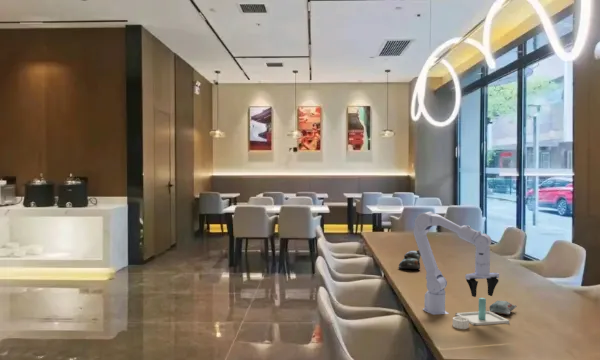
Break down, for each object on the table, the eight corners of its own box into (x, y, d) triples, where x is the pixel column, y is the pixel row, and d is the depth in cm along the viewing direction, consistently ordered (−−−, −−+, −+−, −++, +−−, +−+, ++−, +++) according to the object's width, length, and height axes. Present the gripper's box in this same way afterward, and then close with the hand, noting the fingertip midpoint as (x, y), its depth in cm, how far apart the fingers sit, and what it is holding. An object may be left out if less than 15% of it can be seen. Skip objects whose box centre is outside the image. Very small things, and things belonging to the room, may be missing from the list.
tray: (455, 316, 211) (455, 313, 211) (488, 314, 215) (488, 310, 215) (474, 326, 198) (474, 323, 197) (509, 324, 201) (509, 320, 201)
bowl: (449, 326, 198) (449, 317, 198) (463, 325, 200) (463, 316, 200) (457, 330, 193) (458, 321, 192) (471, 329, 194) (471, 320, 194)
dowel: (477, 318, 207) (477, 297, 207) (483, 317, 208) (483, 297, 207) (480, 320, 204) (481, 299, 204) (486, 319, 205) (487, 299, 205)
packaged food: (516, 311, 219) (516, 300, 219) (509, 318, 210) (509, 306, 210) (496, 308, 225) (496, 297, 224) (488, 314, 215) (488, 303, 215)
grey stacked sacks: (393, 268, 313) (397, 247, 319) (408, 274, 318) (411, 254, 323) (409, 265, 301) (412, 244, 306) (424, 271, 305) (427, 250, 311)
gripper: (472, 265, 200) (471, 299, 200) (503, 264, 203) (503, 297, 204) (462, 262, 207) (462, 294, 207) (493, 261, 210) (493, 293, 211)
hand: (482, 295), depth 206 cm, fingers open, 7 cm apart
